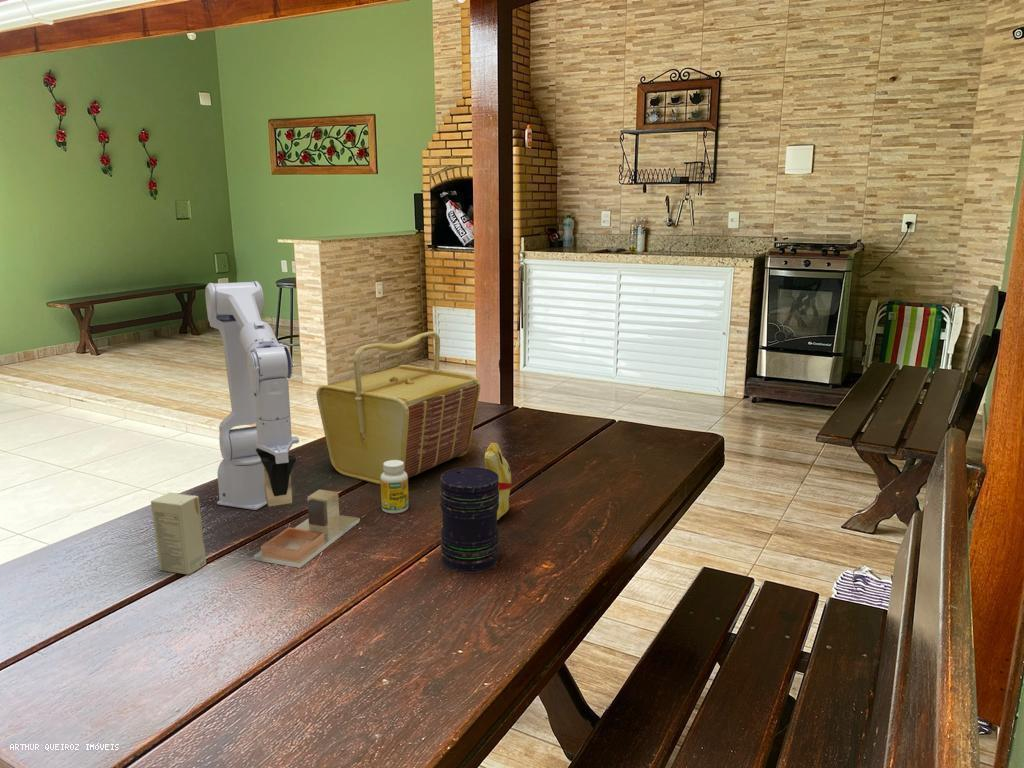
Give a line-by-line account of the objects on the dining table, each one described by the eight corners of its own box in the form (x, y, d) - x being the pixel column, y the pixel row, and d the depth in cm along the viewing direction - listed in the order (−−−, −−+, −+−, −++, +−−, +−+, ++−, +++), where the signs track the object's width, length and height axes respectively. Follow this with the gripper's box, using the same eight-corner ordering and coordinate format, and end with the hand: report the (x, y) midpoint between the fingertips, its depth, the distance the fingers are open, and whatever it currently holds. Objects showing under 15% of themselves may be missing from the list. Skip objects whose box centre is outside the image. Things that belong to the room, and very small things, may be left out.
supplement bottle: (401, 501, 154) (400, 456, 152) (413, 510, 150) (412, 464, 148) (376, 507, 151) (375, 461, 149) (388, 516, 147) (386, 469, 145)
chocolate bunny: (518, 508, 151) (518, 436, 148) (493, 529, 141) (493, 452, 138) (487, 503, 154) (487, 432, 151) (461, 522, 144) (460, 447, 141)
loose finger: (265, 498, 135) (263, 466, 134) (291, 494, 137) (289, 463, 136) (268, 506, 131) (266, 473, 130) (295, 502, 133) (293, 469, 132)
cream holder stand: (253, 559, 128) (251, 522, 127) (318, 515, 147) (316, 482, 145) (300, 567, 126) (297, 529, 124) (359, 521, 144) (358, 488, 143)
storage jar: (511, 560, 129) (511, 477, 126) (467, 579, 122) (467, 492, 119) (472, 542, 136) (472, 462, 133) (429, 558, 129) (427, 476, 126)
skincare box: (207, 564, 126) (201, 495, 124) (188, 576, 122) (182, 505, 120) (176, 558, 128) (169, 490, 126) (157, 569, 124) (149, 500, 122)
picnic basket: (405, 496, 157) (401, 354, 150) (315, 473, 170) (308, 341, 163) (483, 458, 181) (483, 334, 174) (400, 440, 194) (397, 324, 188)
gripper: (305, 423, 126) (309, 500, 129) (289, 404, 139) (293, 474, 142) (260, 428, 123) (266, 507, 126) (248, 408, 136) (254, 480, 139)
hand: (278, 490), depth 134 cm, fingers closed on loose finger, 4 cm apart
